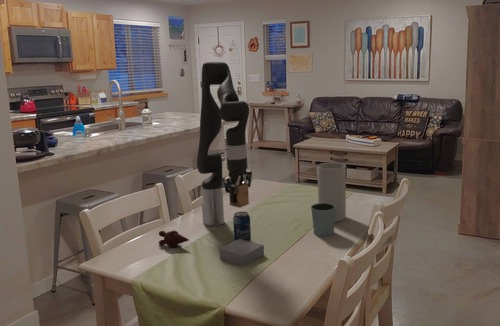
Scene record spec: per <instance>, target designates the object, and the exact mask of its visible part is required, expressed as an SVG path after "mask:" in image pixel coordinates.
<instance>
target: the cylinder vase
mask: <svg viewBox="0 0 500 326" xmlns="http://www.w3.org/2000/svg"><path fill="white" fill-rule="evenodd" d="M346 166H347V165H346V164H345V163H341V162H324V163H319V164H318V165H317V204H318V203H330V204H333V205H335V206H336V209H335V221H334V222H335V223H338V222H343V221H344V220H345V219H346V217H347V216H346V215H347V213H346V212H347V209H346V207H347V205H346V203H347V202H346V201H347V200H346V199H347V198H346V197H347V196H346V195H347V193H346V190H347V188H346V187H347V185H346V183H347V182H346V181H347V180H346V178H347V177H346V176H347V175H346V174H347V170H346V168H347V167H346Z"/></svg>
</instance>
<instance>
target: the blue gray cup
mask: <svg viewBox="0 0 500 326" xmlns="http://www.w3.org/2000/svg"><path fill="white" fill-rule="evenodd" d="M310 209H311V218H312V227H313V234H314V236H317V237H319V238H326V237H327V238H329V237H331V236H334V234H335V223H336V222H334V221H335V209H336V206H335V205H333V204H330V203H318V202H317V203H313V204H312V205H311V207H310Z"/></svg>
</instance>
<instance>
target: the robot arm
mask: <svg viewBox="0 0 500 326" xmlns="http://www.w3.org/2000/svg"><path fill="white" fill-rule="evenodd" d="M211 86H218V88H217V91H216V94H217V98H218V101H219V103H220V106H219V105H218V103H217V102H216V100H215V99H214V97H213V95H212V93H211ZM249 115H250V107H249V104H248V103H247V102H246V101H244V100H240V99H239V96H238V94H237V91H236V90H235V87H234V83H233V78H232V75H231V70H230V67H229V65H228V64H227V62H223V61H206V62H203V64H202V67H201V107H200V117H199V118H200V119H199V140H198V141H199V142H198V149H197V154H196V155H197V157H196V167H197V171H198V173H200V174H201V175H205V174H211V175H210V176H209V177H207V178H206V179H204V180H203V181H202V182H201V187H202V188H201V189H202V202H201V213H202V222H203V223H204V225H206V226H209V227H214V226H215V227H217V226H220V225H223V224H224V223H225V211H224V210H225V209H224V194H223V192H224V191H223V187H224V190H225V193H227V194H229V193H230V197H231V202H232V203H234V204H236V203H237V196H236V188H237V186H239V184H240V183H244V184H245V183H248V188H251V185H252V175H253V171H251V170H248V167H249V166H248V148H247V142H246V141H247V140H246V139H247V137H246V130H247V124H248V120H249ZM222 121H224V122H227V123H229V122H237V124H236V125H235V126H233V127H230V128H228V129H226V131H225V138H226V139H225V142H226V150H225V152H226V168H227V171H228V176H227V177H223V158H222V155H221V154H220V152H218V151H213V152H209V150H210V146H211V145H212V143H213V142H214V140H215V139H216V138H217V136H218V135H219V133H220V131H221V130H222ZM233 184H235V185H233ZM232 187H234V190H232ZM230 197H229V198H230ZM203 223H202V224H203Z"/></svg>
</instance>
